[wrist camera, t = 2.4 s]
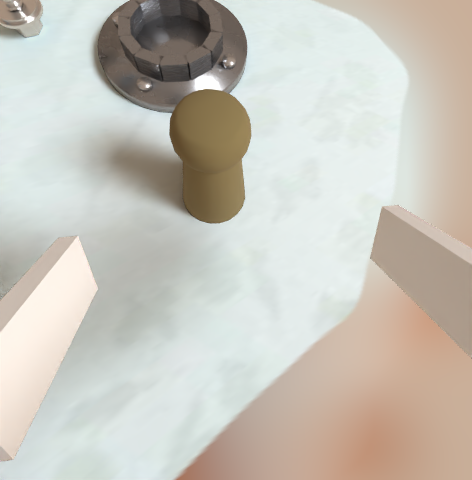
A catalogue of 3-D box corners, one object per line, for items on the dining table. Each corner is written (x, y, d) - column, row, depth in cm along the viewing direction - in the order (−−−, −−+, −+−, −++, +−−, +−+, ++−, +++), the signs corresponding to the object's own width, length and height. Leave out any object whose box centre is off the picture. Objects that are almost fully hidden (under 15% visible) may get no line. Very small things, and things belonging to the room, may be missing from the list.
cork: (226, 157, 28) (230, 58, 17) (256, 206, 26) (280, 132, 16) (172, 182, 27) (139, 93, 16) (200, 234, 25) (185, 175, 15)
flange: (74, 79, 29) (56, 51, 26) (145, -15, 33) (137, -49, 30) (211, 134, 28) (210, 112, 25) (266, 29, 33) (271, 0, 29)
